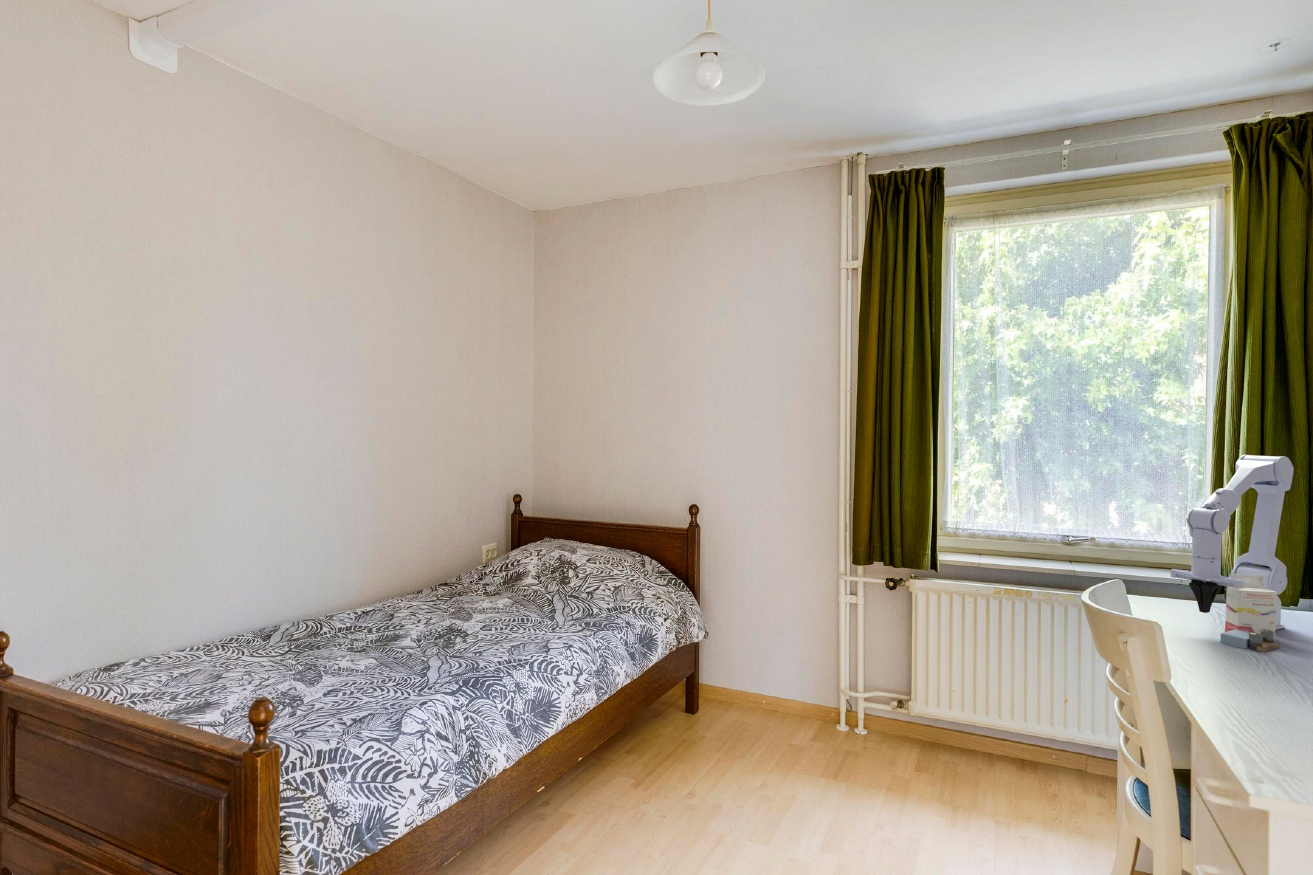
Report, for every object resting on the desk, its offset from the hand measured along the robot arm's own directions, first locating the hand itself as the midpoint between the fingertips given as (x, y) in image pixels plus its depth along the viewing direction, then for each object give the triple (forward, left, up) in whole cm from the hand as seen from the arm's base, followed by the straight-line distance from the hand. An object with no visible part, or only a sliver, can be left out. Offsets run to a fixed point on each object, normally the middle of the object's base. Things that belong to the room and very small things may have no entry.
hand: (1204, 611), depth 175 cm
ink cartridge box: (-9, +6, -6) cm, 12 cm away
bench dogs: (0, +11, -5) cm, 13 cm away
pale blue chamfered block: (0, +8, -6) cm, 10 cm away
